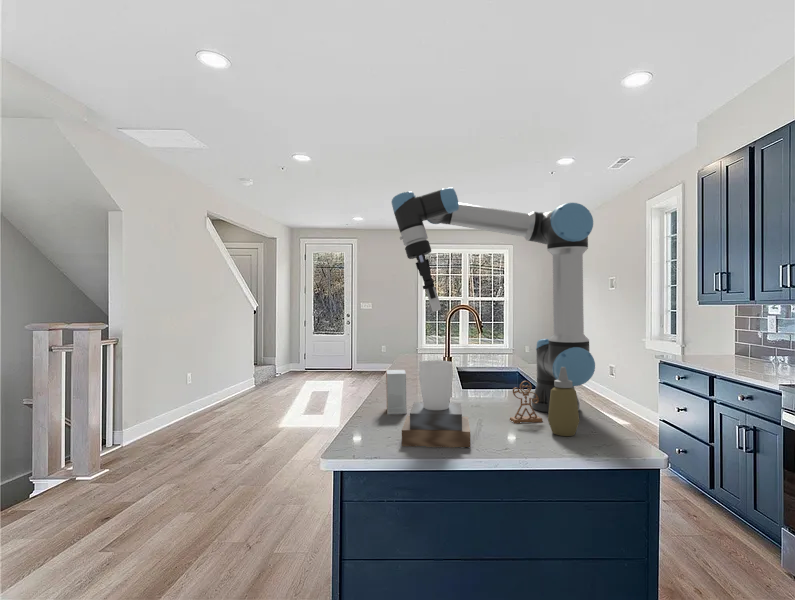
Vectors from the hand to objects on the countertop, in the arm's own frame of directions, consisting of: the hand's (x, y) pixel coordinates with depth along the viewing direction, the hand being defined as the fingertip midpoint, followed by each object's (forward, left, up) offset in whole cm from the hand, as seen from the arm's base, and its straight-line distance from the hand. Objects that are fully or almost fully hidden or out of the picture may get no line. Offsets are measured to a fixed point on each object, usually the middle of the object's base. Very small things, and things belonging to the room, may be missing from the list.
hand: (436, 310), depth 146 cm
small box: (+14, -11, -33) cm, 38 cm away
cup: (0, +18, -25) cm, 31 cm away
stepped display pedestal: (0, +18, -33) cm, 38 cm away
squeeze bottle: (-34, +11, -33) cm, 49 cm away
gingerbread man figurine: (-26, -2, -33) cm, 43 cm away
